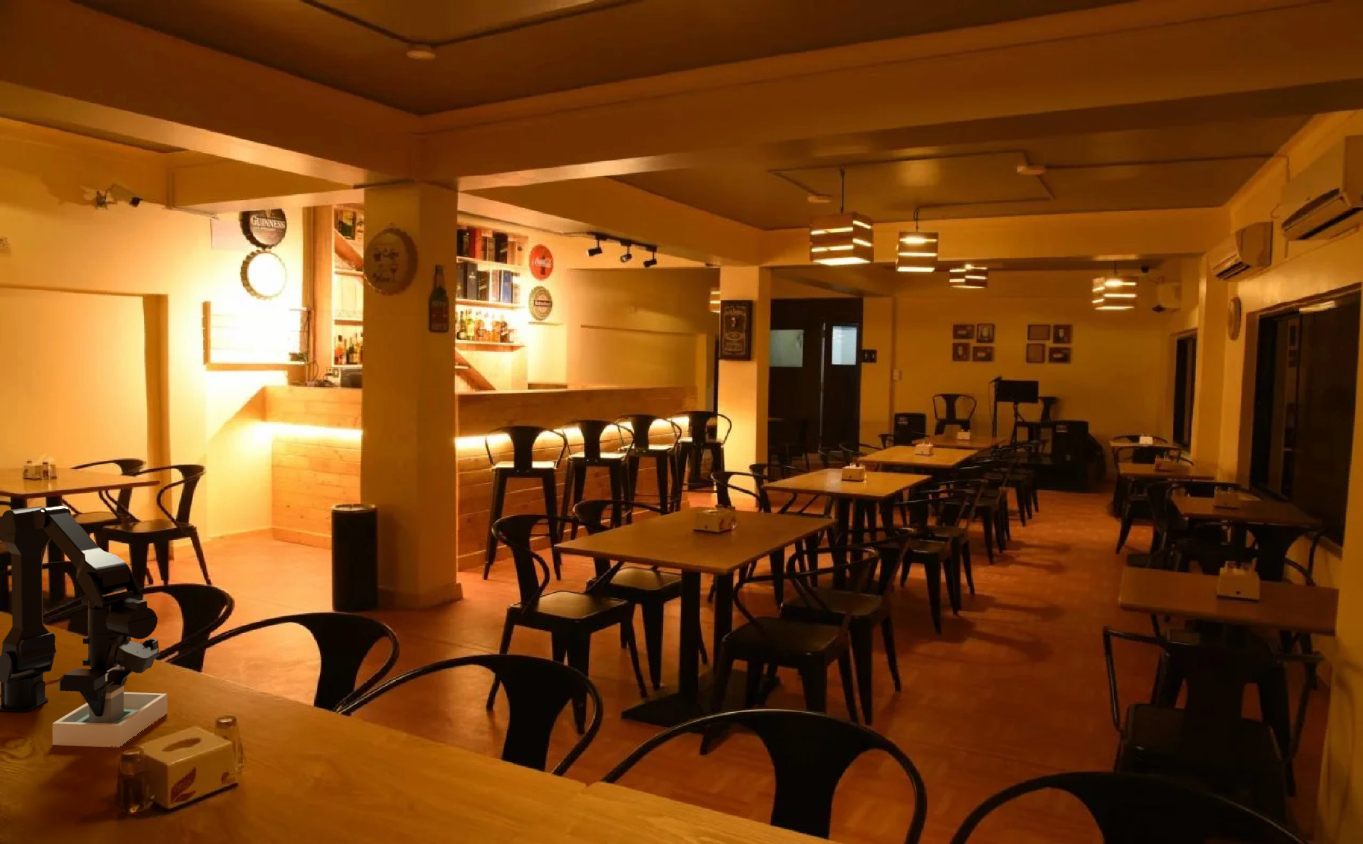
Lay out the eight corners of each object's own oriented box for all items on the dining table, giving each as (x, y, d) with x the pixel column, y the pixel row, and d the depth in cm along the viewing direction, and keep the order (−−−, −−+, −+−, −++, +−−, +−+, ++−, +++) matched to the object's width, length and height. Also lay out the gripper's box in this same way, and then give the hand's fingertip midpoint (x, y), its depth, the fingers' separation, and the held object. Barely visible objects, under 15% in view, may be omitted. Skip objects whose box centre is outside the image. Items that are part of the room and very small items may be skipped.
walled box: (52, 745, 168) (52, 723, 168) (105, 711, 184) (105, 691, 184) (119, 747, 168) (119, 725, 168) (167, 713, 184) (167, 693, 184)
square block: (88, 723, 172) (88, 692, 172) (102, 715, 176) (102, 684, 176) (111, 724, 172) (111, 692, 172) (124, 716, 176) (124, 685, 176)
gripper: (120, 647, 164) (120, 733, 165) (176, 617, 182) (175, 695, 183) (56, 644, 163) (56, 731, 165) (119, 615, 182) (118, 693, 183)
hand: (106, 711), depth 174 cm, fingers closed on square block, 4 cm apart
